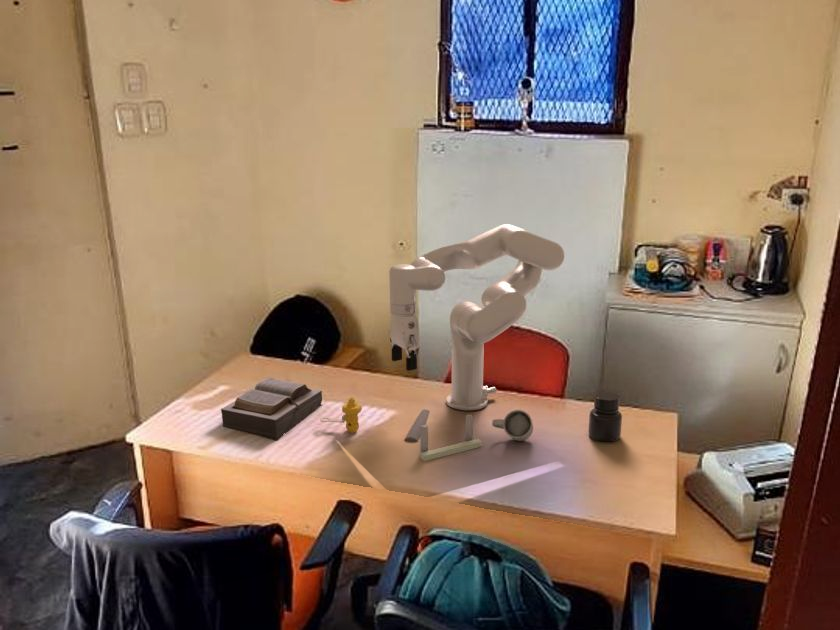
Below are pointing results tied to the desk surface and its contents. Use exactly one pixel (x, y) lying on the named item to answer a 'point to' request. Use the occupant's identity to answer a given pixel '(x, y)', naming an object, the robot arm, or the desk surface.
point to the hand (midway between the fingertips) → (404, 364)
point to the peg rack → (450, 449)
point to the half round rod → (417, 426)
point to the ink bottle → (605, 417)
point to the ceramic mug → (516, 425)
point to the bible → (271, 408)
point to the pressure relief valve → (348, 415)
